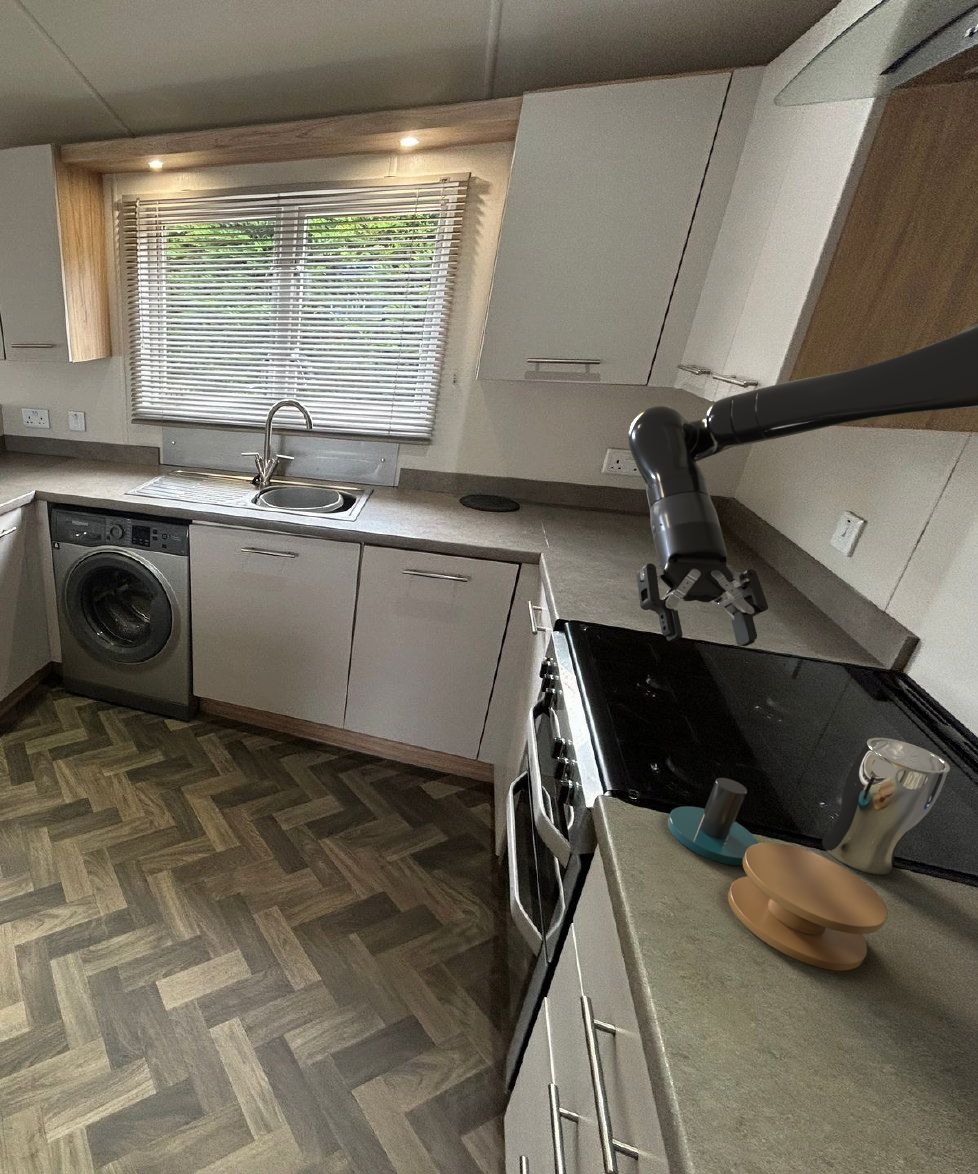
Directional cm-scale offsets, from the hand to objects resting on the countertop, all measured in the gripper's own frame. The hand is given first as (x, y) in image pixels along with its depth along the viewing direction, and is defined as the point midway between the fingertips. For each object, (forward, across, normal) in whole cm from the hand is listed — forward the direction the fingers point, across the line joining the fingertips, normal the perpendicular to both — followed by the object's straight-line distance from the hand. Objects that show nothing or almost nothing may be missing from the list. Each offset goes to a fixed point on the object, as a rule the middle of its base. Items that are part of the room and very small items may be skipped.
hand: (710, 641), depth 82 cm
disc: (+24, 0, +8) cm, 25 cm away
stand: (+32, +1, -1) cm, 33 cm away
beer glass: (+24, +16, +8) cm, 30 cm away
